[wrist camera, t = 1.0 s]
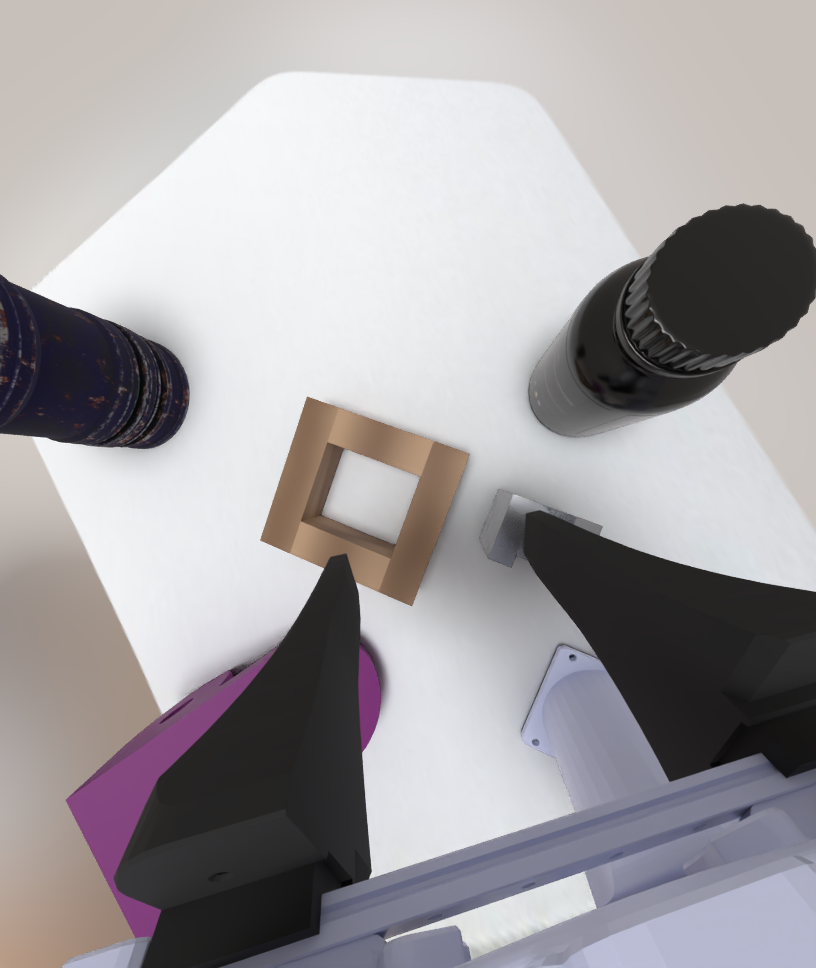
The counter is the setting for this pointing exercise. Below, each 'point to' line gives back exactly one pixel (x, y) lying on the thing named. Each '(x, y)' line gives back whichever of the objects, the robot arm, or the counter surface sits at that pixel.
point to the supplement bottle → (676, 321)
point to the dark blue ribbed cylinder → (84, 377)
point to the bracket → (516, 526)
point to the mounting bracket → (137, 766)
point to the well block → (321, 538)
